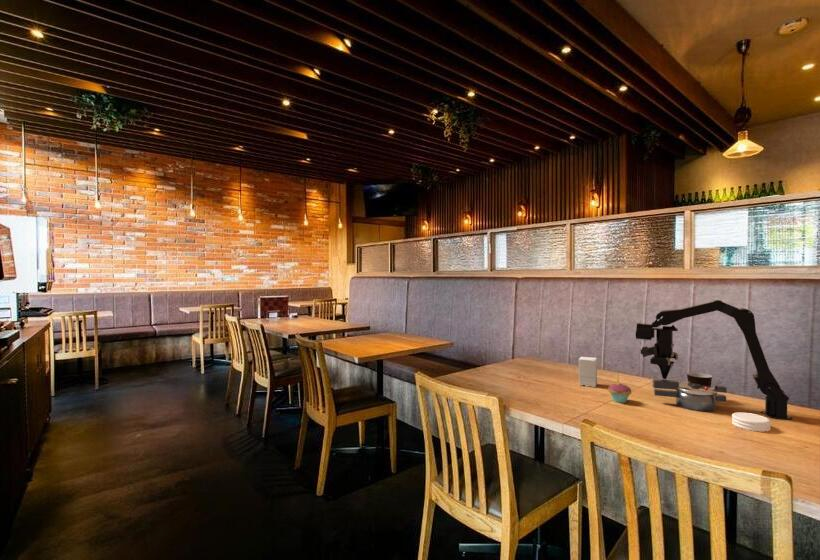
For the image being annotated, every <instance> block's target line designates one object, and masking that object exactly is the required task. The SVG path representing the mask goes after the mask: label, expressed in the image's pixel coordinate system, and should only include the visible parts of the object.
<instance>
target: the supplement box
mask: <svg viewBox="0 0 820 560" xmlns="http://www.w3.org/2000/svg"><path fill="white" fill-rule="evenodd" d="M579 384H580V385H585V386H584V387H588V386H592V387H591V388H596V387H597V386H596V385H598V358H597V357H590V356H580V357H579V358H578V385H579Z"/></svg>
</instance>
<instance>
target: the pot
mask: <svg viewBox="0 0 820 560" xmlns="http://www.w3.org/2000/svg"><path fill="white" fill-rule="evenodd" d="M653 394H654V396H658V397H671V398H675V405H676V406H677V405H678V407H679V408H682V409H685V410H689V411H695V412H701V413H703V412H704V413H711V412H712V413H713V412H716V411H717V402H724V403H725V402H727V396H726V395H725V394H720V393H717V394H716V395H695V394H689V393H685V392H681V391H678V390H672V389H658V388H653Z"/></svg>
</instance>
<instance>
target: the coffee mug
mask: <svg viewBox="0 0 820 560" xmlns="http://www.w3.org/2000/svg"><path fill="white" fill-rule="evenodd" d="M686 378H687V383H691V384H692V383H696V384H700V385H705V386H709V387H712V379H713V376H712V375H711V374H707V373H702V372H686Z"/></svg>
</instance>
